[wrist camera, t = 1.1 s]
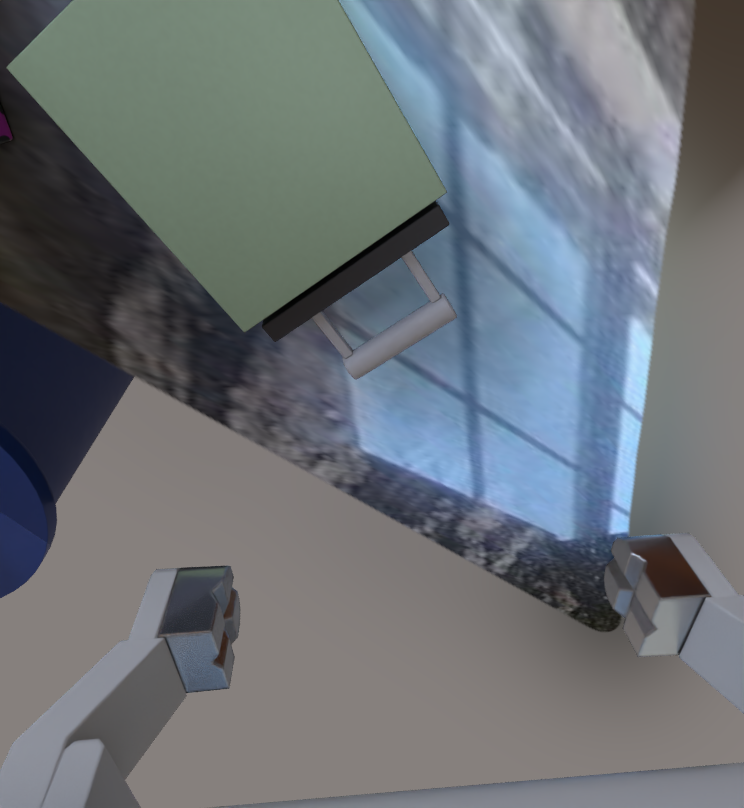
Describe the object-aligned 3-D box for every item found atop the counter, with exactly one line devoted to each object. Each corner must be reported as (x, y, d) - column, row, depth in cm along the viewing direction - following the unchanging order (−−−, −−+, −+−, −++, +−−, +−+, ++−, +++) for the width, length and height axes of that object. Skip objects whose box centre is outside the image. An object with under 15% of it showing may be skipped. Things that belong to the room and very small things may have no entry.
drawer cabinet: (421, 161, 34) (447, 192, 26) (262, 275, 37) (244, 333, 29) (267, -105, 27) (241, -170, 19) (89, 64, 30) (5, 67, 22)
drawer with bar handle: (467, 259, 36) (495, 300, 30) (328, 349, 39) (327, 403, 33) (292, -38, 27) (281, -65, 21) (131, 106, 30) (79, 119, 24)
